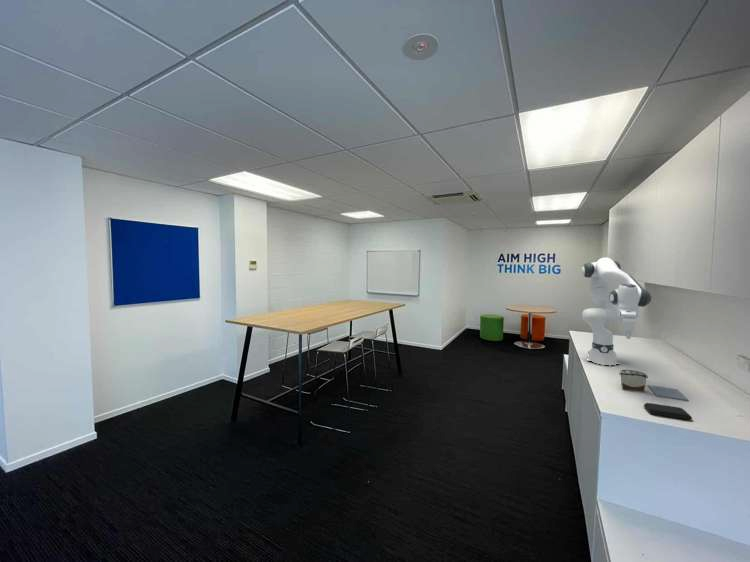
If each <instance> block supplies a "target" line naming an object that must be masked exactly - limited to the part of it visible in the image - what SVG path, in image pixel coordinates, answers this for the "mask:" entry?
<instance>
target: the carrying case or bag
mask: <svg viewBox="0 0 750 562" xmlns="http://www.w3.org/2000/svg"><path fill="white" fill-rule="evenodd" d="M643 407H644V408H645V409H646V410H647V412H648V413H649V414H650V415H652V416H655V417H656V416H657V417H663V418H668V419H676V420H680V419H681V420H680V421H687V420H689V421H691V420H692V419H693V417H692V415H690V413H688V412H687V411H686V410H685V409H684V408H682V407H680V406H679V407H678V406H673V405H672V406H671V405H666V404H658V403H652V402H646V403H644V404H643Z"/></svg>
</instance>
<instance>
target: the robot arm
mask: <svg viewBox="0 0 750 562" xmlns="http://www.w3.org/2000/svg"><path fill="white" fill-rule="evenodd" d="M581 274H582V275H583V277H585V278H590V279H589V291H590V297H591V298H590V299H591V300H592V303H593V302H594V303H596V304H597V305H599V307H591V308H590V307H589V308H585V309H584V310H583V311H582V313H581V318H582V320H583V321H584V322H585V323H586V324H588V325H589V327H590V330H591V331H592V343H591V349H589V350H587V354H588V355H589V357H587V356H586V359H585V361H586V360H587V359H589V360H588V361H592V362H594V363H597V364H596V365H598V364H601V365H600V366H604V365H609V366H608V367H612V366H611V365H615V366H617V365H616V364H619V365H620V363H619V362H618V361H617V353H616V352H615V351H614V350H615V349H614V342H613V341H614V334H613V332H612V331H611V330H610V329H607V328H605V325H617V324H623V325H622V326H623V330H624V332H625V337H626V338H625V339H628V340H631V337H632V333H633V332H634V329H635V323H636V320H637V317H639V316H640V315H639V314H640V310H639V309H640V308H639V307H642V308H643V307H644V308H645V307H646V306H647V305H649V304H650V303H651V301H652V296H651V294H650V292H649V291H648V290H647V289H645V288H644V287H643V286H642V285H640V283H638V281H637V280H636V279H635V278H634V277H633V276H632V275H631V274H629V273H626V272H625V271H623V270H622V267H621V264H620V262H618V261H614V260H613V259H612V258H609V257H602V258H599V259H598V260H597V261H595V262H594V261H593V262H587V263H584V264H583V265H582V267H581ZM610 284H614V285H619V286H618V288H616V289H613V290H612V291H610ZM588 361H587V362H588ZM594 363H593V364H594Z"/></svg>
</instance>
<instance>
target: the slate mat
mask: <svg viewBox="0 0 750 562" xmlns="http://www.w3.org/2000/svg"><path fill="white" fill-rule="evenodd" d="M647 388H648V389H649V390H650V391H651V392H652V394H654V395H655V397H657V398H664V399H671V400H676V401H684V402H689V401H690V400H689V398H687V397H686V396H685V395H684V394H683V393H682V392H681V391H679V389H677V388H674V387H673V388H672V387H666V386H665V387H664V386H658V385H650V384H647Z"/></svg>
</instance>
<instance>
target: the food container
mask: <svg viewBox="0 0 750 562" xmlns="http://www.w3.org/2000/svg"><path fill="white" fill-rule="evenodd" d="M618 375H619V376H620V381H621V390H623V391H629V392H638V393H639V392H640V393H645V389H646V385H647V379H649V376H648V374H647V373H645V372H642V371H639V370H633V369H621V370H620V371H619V373H618Z"/></svg>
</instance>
